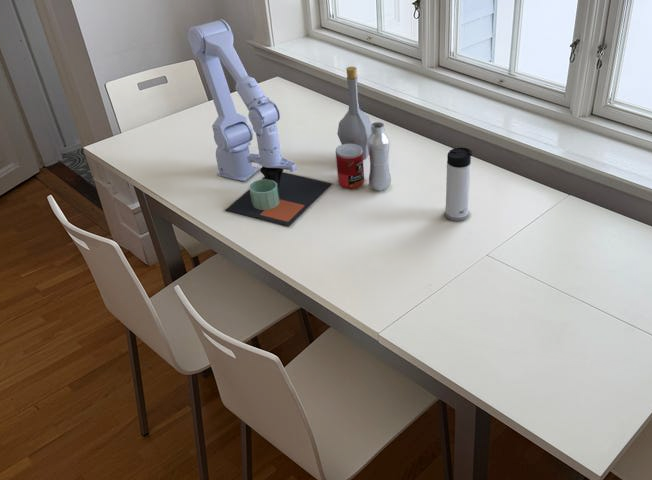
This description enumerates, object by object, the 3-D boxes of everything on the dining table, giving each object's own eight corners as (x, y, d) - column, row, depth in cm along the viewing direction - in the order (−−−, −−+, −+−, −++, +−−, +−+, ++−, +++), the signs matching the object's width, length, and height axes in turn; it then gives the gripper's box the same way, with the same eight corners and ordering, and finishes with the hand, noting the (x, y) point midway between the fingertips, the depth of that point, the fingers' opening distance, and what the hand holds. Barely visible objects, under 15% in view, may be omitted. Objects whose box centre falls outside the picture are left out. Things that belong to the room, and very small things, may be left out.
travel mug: (466, 222, 182) (470, 157, 170) (443, 219, 183) (445, 154, 171) (470, 210, 187) (474, 146, 175) (448, 207, 188) (450, 143, 176)
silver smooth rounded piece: (393, 182, 198) (391, 120, 186) (389, 194, 193) (387, 131, 180) (371, 180, 198) (368, 118, 186) (367, 192, 193) (363, 129, 181)
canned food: (352, 192, 193) (349, 159, 186) (332, 183, 197) (329, 150, 190) (370, 182, 198) (368, 149, 191) (350, 173, 201) (348, 140, 195)
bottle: (334, 157, 209) (326, 64, 191) (368, 150, 213) (363, 59, 195) (345, 173, 201) (338, 78, 183) (380, 167, 205) (376, 73, 187)
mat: (225, 210, 184) (225, 209, 183) (272, 170, 201) (272, 169, 201) (288, 226, 178) (288, 225, 178) (331, 184, 196) (331, 183, 196)
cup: (247, 206, 185) (244, 189, 182) (262, 193, 190) (259, 176, 187) (270, 212, 183) (267, 195, 179) (284, 199, 188) (282, 182, 185)
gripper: (299, 144, 183) (304, 186, 191) (254, 134, 187) (261, 176, 195) (286, 155, 178) (292, 198, 186) (239, 145, 181) (247, 188, 190)
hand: (275, 188), depth 190 cm, fingers closed, pressing on cup
